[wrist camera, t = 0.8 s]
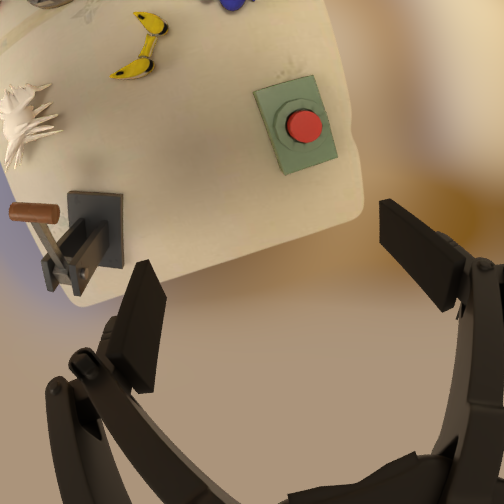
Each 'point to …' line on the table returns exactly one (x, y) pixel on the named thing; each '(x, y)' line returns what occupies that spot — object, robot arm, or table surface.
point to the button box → (276, 117)
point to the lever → (44, 232)
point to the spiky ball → (22, 120)
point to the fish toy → (232, 4)
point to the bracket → (89, 238)
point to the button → (304, 126)
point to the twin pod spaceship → (144, 48)
